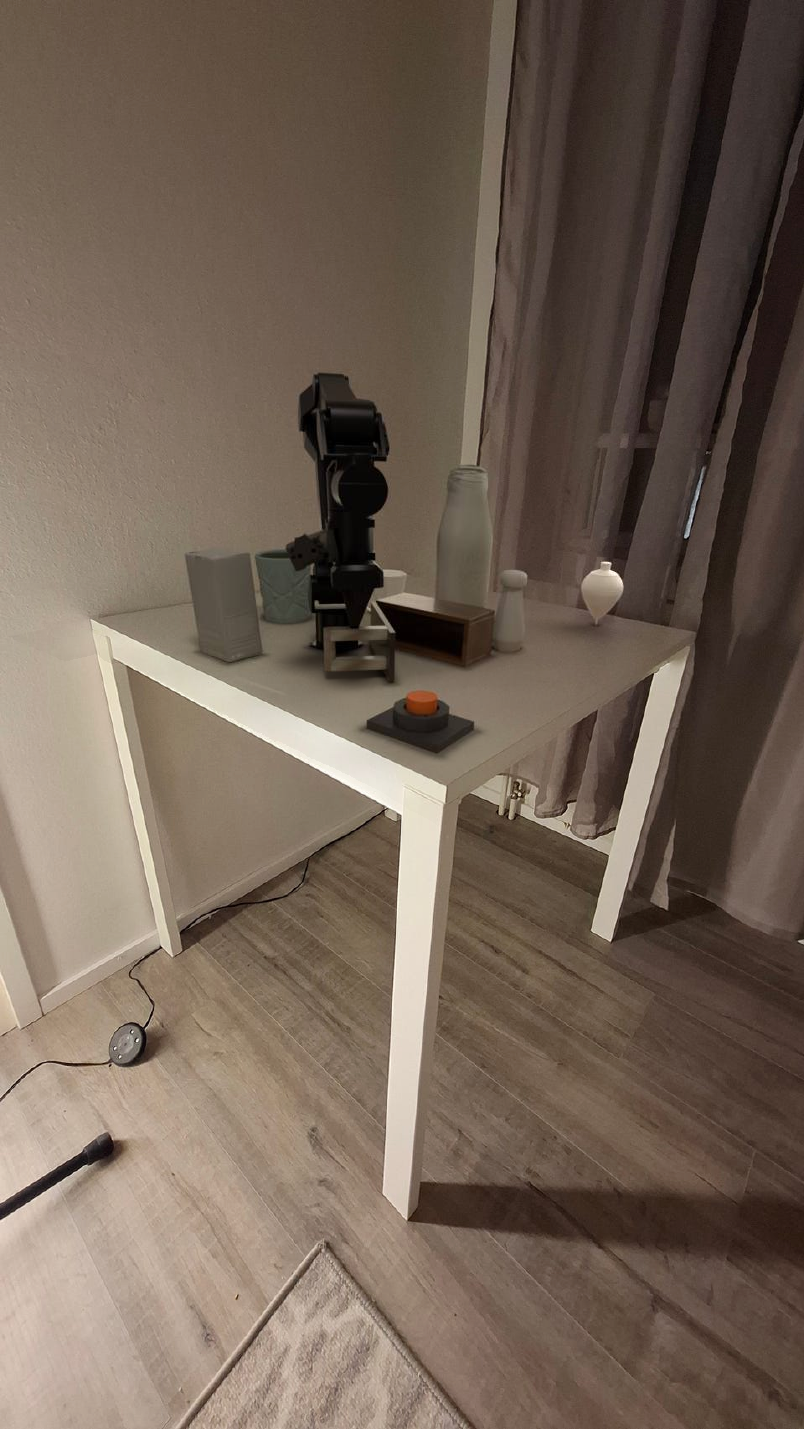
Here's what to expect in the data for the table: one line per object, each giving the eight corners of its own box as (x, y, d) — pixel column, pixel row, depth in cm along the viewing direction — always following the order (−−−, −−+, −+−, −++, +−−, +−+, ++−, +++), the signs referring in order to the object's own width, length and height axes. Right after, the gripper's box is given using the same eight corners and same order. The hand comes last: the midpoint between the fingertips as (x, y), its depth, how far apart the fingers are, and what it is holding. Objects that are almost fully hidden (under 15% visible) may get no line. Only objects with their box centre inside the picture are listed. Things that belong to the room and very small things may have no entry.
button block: (366, 729, 73) (366, 706, 71) (405, 708, 79) (406, 687, 77) (437, 754, 67) (438, 729, 66) (473, 730, 73) (475, 707, 72)
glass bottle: (468, 611, 126) (479, 463, 115) (494, 624, 118) (509, 466, 106) (424, 614, 122) (431, 462, 111) (448, 628, 114) (459, 465, 102)
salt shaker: (523, 656, 100) (532, 575, 95) (487, 652, 101) (495, 573, 96) (523, 645, 105) (532, 569, 100) (490, 642, 106) (497, 566, 101)
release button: (399, 710, 72) (400, 696, 71) (417, 701, 74) (418, 687, 74) (425, 718, 70) (426, 704, 69) (442, 709, 72) (443, 695, 72)
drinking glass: (323, 618, 117) (322, 554, 112) (281, 628, 110) (278, 560, 105) (289, 608, 123) (287, 547, 118) (247, 617, 116) (243, 552, 111)
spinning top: (584, 617, 124) (593, 557, 119) (621, 624, 120) (633, 562, 115) (569, 625, 119) (579, 562, 114) (608, 632, 115) (620, 567, 110)
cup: (404, 619, 119) (405, 577, 115) (352, 616, 119) (352, 574, 116) (406, 610, 125) (407, 570, 122) (357, 607, 125) (357, 567, 122)
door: (325, 685, 85) (325, 633, 82) (317, 646, 101) (315, 602, 98) (394, 682, 87) (395, 631, 84) (375, 644, 102) (375, 601, 99)
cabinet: (465, 668, 94) (469, 619, 91) (375, 645, 103) (375, 600, 100) (490, 656, 100) (495, 609, 96) (403, 634, 109) (404, 592, 106)
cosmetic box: (263, 655, 96) (257, 552, 90) (223, 665, 91) (213, 557, 85) (233, 643, 101) (225, 544, 95) (193, 652, 96) (182, 548, 90)
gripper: (287, 504, 86) (295, 614, 92) (285, 518, 69) (295, 650, 75) (366, 503, 88) (369, 611, 94) (383, 516, 71) (385, 646, 77)
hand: (354, 628), depth 85 cm, fingers closed, pressing on door
